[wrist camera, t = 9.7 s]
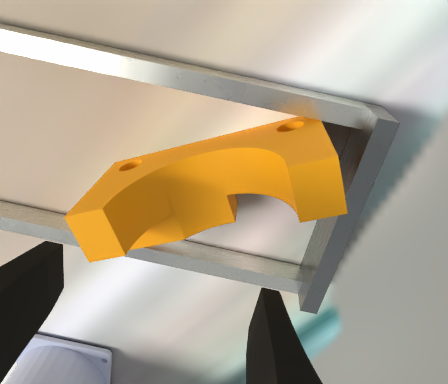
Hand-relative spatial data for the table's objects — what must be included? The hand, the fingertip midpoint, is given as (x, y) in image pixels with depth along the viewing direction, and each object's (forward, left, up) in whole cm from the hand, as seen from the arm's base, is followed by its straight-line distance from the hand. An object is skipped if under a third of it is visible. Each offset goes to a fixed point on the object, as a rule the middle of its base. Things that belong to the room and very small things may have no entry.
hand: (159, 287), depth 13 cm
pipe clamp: (0, -1, -10) cm, 10 cm away
